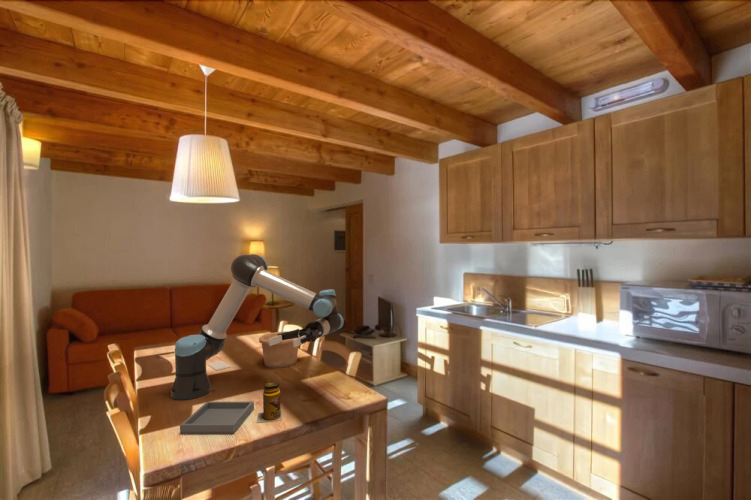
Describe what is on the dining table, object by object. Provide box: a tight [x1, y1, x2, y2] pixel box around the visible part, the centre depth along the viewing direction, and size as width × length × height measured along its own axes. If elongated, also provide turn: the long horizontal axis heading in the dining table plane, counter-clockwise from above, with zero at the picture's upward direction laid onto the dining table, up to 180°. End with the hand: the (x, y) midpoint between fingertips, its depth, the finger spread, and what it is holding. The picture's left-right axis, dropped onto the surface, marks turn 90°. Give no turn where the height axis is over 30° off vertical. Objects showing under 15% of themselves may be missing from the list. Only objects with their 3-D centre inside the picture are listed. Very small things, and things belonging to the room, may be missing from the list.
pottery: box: [258, 331, 300, 369], centre depth 189 cm, size 22×22×14 cm
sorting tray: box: [179, 400, 255, 435], centre depth 126 cm, size 18×18×3 cm
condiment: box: [255, 381, 283, 424], centre depth 128 cm, size 7×8×12 cm
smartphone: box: [206, 360, 231, 372], centre depth 186 cm, size 7×1×15 cm
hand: (281, 343), depth 137 cm, fingers open, 13 cm apart
